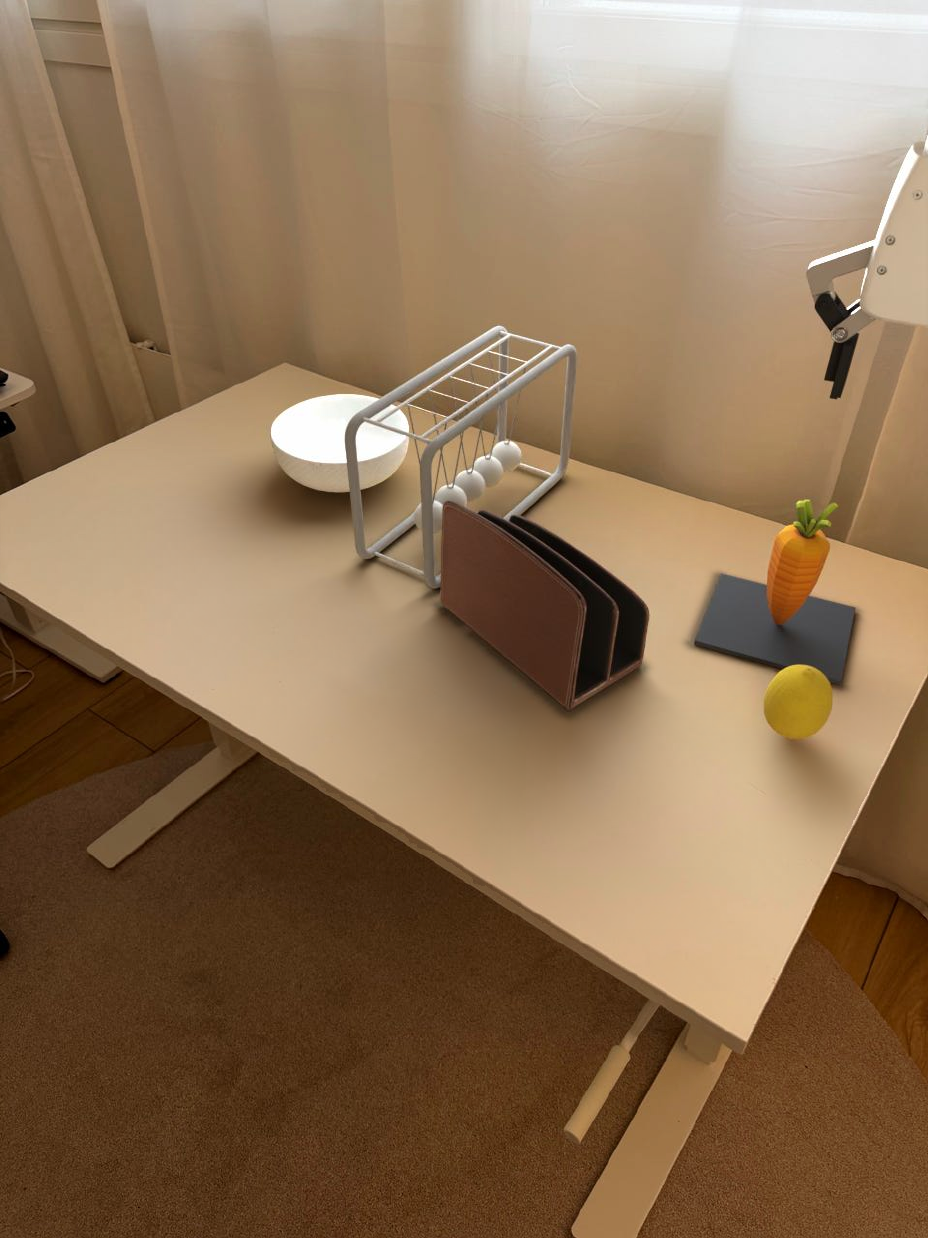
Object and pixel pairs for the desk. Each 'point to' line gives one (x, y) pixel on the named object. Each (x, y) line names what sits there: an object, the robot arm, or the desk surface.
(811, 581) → the carrot
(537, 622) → the letter holder
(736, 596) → the mat
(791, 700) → the lemon
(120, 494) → the desk surface
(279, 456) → the cereal bowl
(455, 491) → the newton's cradle
